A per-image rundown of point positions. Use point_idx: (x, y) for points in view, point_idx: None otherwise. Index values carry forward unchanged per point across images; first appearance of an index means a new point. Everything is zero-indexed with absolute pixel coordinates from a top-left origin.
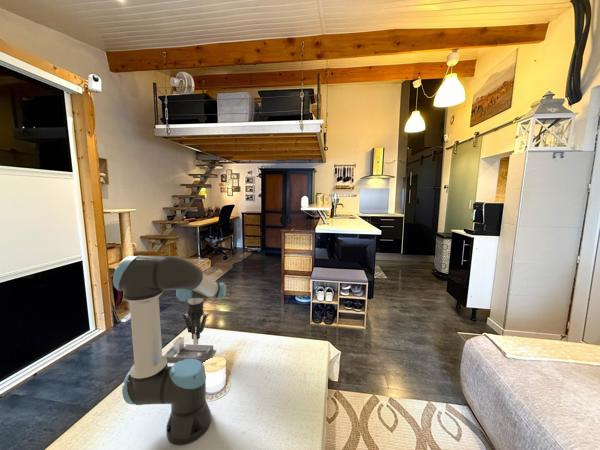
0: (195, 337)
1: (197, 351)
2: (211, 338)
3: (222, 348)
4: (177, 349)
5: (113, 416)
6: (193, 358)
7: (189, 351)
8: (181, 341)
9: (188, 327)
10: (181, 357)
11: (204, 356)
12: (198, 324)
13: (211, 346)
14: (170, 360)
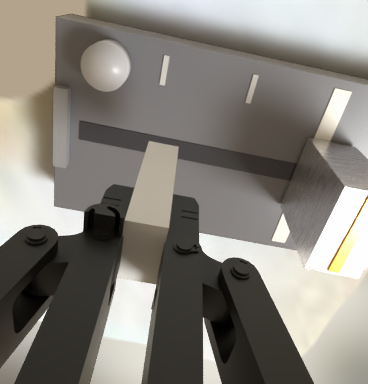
0: (141, 194)
1: (155, 141)
2: (126, 303)
3: (6, 195)
4: (334, 154)
5: None
6: (161, 39)
7: (224, 151)
8: (317, 219)
9: (262, 338)
10: (277, 69)
11: (65, 54)
12: (19, 379)
13: (62, 194)
14: (366, 79)
